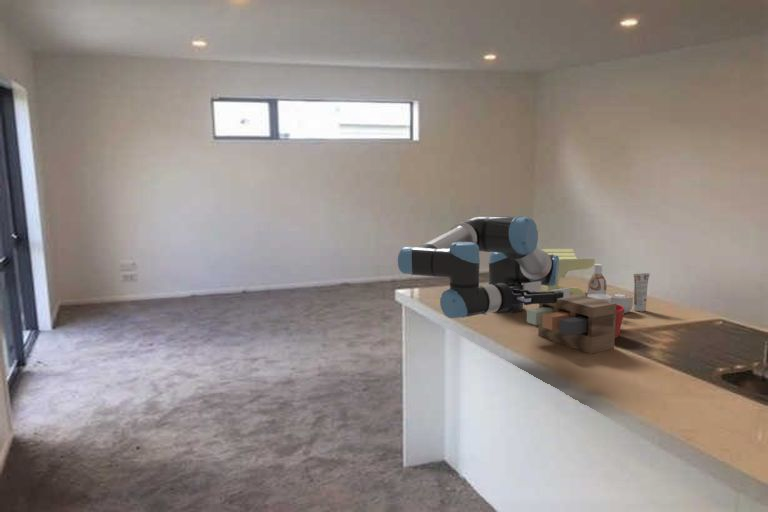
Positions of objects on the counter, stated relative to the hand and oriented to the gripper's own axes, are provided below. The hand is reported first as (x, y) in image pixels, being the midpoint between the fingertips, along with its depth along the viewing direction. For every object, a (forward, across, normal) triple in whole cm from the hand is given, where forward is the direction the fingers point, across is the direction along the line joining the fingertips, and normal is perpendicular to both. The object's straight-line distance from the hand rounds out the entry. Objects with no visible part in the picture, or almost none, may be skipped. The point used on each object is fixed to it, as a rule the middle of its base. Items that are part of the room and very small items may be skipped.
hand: (554, 289), depth 169 cm
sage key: (+10, -14, -14) cm, 22 cm away
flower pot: (+31, -7, -20) cm, 38 cm away
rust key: (+10, -7, -14) cm, 18 cm away
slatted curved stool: (+65, -59, -20) cm, 90 cm away
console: (+17, -7, -20) cm, 27 cm away
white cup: (+40, -18, -20) cm, 48 cm away
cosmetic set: (+60, -26, -20) cm, 68 cm away
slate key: (+10, 0, -14) cm, 17 cm away
